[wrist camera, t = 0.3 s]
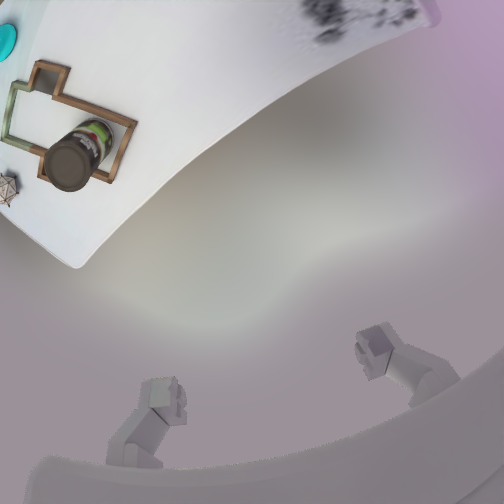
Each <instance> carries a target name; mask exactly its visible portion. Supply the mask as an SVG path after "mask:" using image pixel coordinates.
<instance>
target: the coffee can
mask: <svg viewBox="0 0 504 504" xmlns="http://www.w3.org/2000/svg"><path fill="white" fill-rule="evenodd" d="M113 142H114V137H113V133H112V130H111V128H110V127H109V126H108V124H107V123H105V122H104V121H102V120H100V119H94V118H92V119H88V120H85V121H83V122H82V123H81V124H80V125H78V126H77V127H76V128H75V129H73V130H72V131H71V132H69V133H68V134H67V135H66V136H64V137H63V138H62V139H61V140H59V141H58V142H57V143H55V144H54V145H52V146H51V147H50V149H49V150H48V151H47V154H46V156H45V161H44V167H45V172H46V175H47V177H48V179H49V181H50V182H51V183H52V184H53V185H54V186H55V187H56V188H58V189H60V190H62V191H65V192H74V191H78V190H80V189H82V188H83V187H84V186H85V185H86V183H87V182H88V180H89V178H90V177H91V175H92V174H93V173H94V171H95V170H96V169H97V167H98V166H99V165H100V163H101V162H102V161H103V160H104V158H105V157H106V156H107V155H108V154H109V153H110V151H111V149H112V147H113Z"/></svg>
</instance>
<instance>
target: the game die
mask: <svg viewBox="0 0 504 504" xmlns="http://www.w3.org/2000/svg"><path fill="white" fill-rule="evenodd" d="M15 178H16V176H15V177H14V178H12V177H7V176H2V173H1V177H0V204H6V205H8V207H9V208H10V205H9V204H10V202H11V201H12V199H13V198H14V196H15V195H16V194H19V192H17V190H16V184H15Z"/></svg>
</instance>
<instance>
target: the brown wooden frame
mask: <svg viewBox="0 0 504 504" xmlns="http://www.w3.org/2000/svg"><path fill="white" fill-rule="evenodd" d="M70 69H71V68H68V67H64V66H61V65H57V64H54V63H50V62H46V61H42V60H38V61H35V63H34V66H33V69H32V72H31V75H30V79H29V82H28V83H25V82H21V81H17V80H16V81H14V82H12V83H11V87H10V91H9V95H8V100H7V104H6V109H5V114H4V120H3V126H2V132H1V140H0V141H2V142H4V143H7V144H10V145H12V146H15V147H17V148H20V149H23V150H25V151H28V152H30V153H33V154H36V155H38V156H40V162H39V168H38V174H37V178H40V179H42V180H45V181H47V182H50V181H49V179H48V177H47V175H46V172H45V167H44V161H45V156H46V154H47V151H48V149H45V148H42V147H40V146H37V145H34V144H32V143H29V142H27V141H24V140H21V139H18V138H16V137H13V136H10V135H8V133H9V127H10V121H11V116H12V111H13V106H14V102H15V98H16V94H17V90H18V89H19V90H23V91H26V92H31V91H34V90H36V91H39V92H43V93H46V94H49V95H52V100H55V101H58V102H61V103H64V104H67V105H70V106H72V107H75V108H78V109H81V110H84V111H86V112H89V113H92V114H95V115H97V116H100V117H102V118H105V119H108V120H110V121H113V122H115V123H118V124H120V125H123V126H125V127H128V128H127V130H126V133H125V135H124V137H123V140H122V142H121V145H120V147H119V150H118V152H117V155H116V158H115V160H114V163H113V166H112V168H111V171H110V174H109V173H106V172H104V171H101V170H99V169H96V170H95V171H94V173H93V174H92V175H91V176H92V177H94V178H97V179H99V180H102V181H104V182H107V183H109V184H112V182H113V180H114V178H115V175H116V172H117V169H118V167H119V164H120V162H121V159H122V156H123V154H124V151H125V149H126V147H127V144H128V142H129V140H130V137H131V135H132V133H133V130H134V128H135V126H136V124H137V121H134V120H132V119H129V118H127V117H124V116H122V115H119V114H117V113H114V112H112V111H109V110H106V109H104V108H101V107H98V106H96V105H93V104H90V103H87V102H85V101H82V100H79V99H76V98H73V97H70V96H67V95H64V94H62V91H63V88H64V85H65V82H66V79H67V77H68V74H69V72H70ZM50 183H51V182H50Z"/></svg>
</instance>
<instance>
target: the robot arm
mask: <svg viewBox="0 0 504 504" xmlns="http://www.w3.org/2000/svg"><path fill="white" fill-rule="evenodd" d="M356 339H357V343H356V344H355V353H356V357H357V359H358V361H359V363H361V364H363V365H364V369H363V371H364V372H365V374H366V376H367V378H368V380H369V381H370V380H372V379H375V378H378V377H380V376H383V375H386V376H387V377H389V378H390V379H392V380H394V381H395V382H397V383H398V384H400V385H402V386H403V387H405V388H407V389H408V390H410V391H412V392H413V393H414V394H413V396H412V398H411V400H410V402H409V406H410V407H411V409H410V410H408V411H406V412H404V413H402V414H400V415H398V416H396V417H394V418H392V419H390V420H388V421H385V422H383V423H381V424H379V425H376V426H374V427H372V428H369V429H367V430H365V431H362V432H359V433H357V434H354V435H351V436H349V437H346V438H343V439H340V440H337V441H334V442H331V443H328V444H325V445H322V446H318V447H315V448H311V449H308V450H304V451H300V452H296V453H292V454H288V455H284V456H279V457H275V458H270V459H265V460H259V461H254V462H248V463H241V464H233V465H225V466H216V467H202V468H184V469H183V468H180V469H163V463H162V462H161V461H160V460H159V459H157V458H156V457H154V456H153V455H154V453H155V452H156V450H157V448H158V447H159V445H160V443H161V442H162V440H163V438H164V436H165V435H166V433H167V431H168V430H169V428H170V427H169V426H177V425H185V424H186V422H187V416H186V415H187V414H186V411H185V410H184V409H183V408H184V407H185V405H186V403H187V400H186V394H185V391H184V389H183V387H182V386H181V385H179V384H178V380H177V379H176V377H175V376H173V377H163V378H151V379H143V381H142V383H141V389H140V396H139V403H138V409H135V410H134V411H133V412H132V413H131V415H130V416H129V417H128V418H127V419H126V421H125V422H124V423H123V424H122V426H121V427H120V428H119V429H118V430H117V432H116V433H115V434H114V435H113V437H112V438H111V439H110V440H109V442H108V449H107V456H106V464H98V463H91V462H85V461H80V460H75V459H70V458H65V457H61V456H57V455H53V454H49V455H47V456H45V457H44V458H43V459H42V460H41V461H40V462H39V463H38V464H37V465H36V466H35V467H34V468H33V469H32V470H31V472H30V475H29V477H28V481H27V485H26V490H25V496H24V504H504V347H503V348H501V349H500V350H499V351H498V352H497V353H496V354H494V355H493V356H492V357H491V358H489V359H488V360H487V361H486V362H484V363H483V364H482V365H480V366H479V367H478V368H476V369H475V370H474V371H472V372H471V373H469V374H468V375H467V376H465V377H464V378H463V379H460V377H459V376H458V374H457V373H456V372H455V370H454V369H453V367H452V366H451V365H450V363H449V362H448V361H447V360H445V359H443V358H440V357H438V356H435V355H433V354H431V353H428V352H426V351H424V350H421V349H419V348H416V347H414V346H412V345H410V344H406V345H405V344H404V343H403V341H402V340H401V338H400V337H399V336H398V334H397V333H396V332H395V330H394V329H393V328H392V326H391V325H390V323H389V322H383V323H381V324H378V325H375V326H373V327H370V328H367V329H365V330H362V331H359V332H357V334H356Z"/></svg>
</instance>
